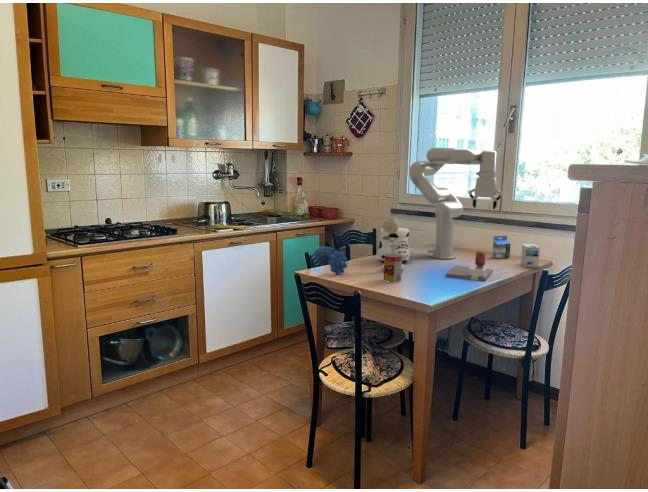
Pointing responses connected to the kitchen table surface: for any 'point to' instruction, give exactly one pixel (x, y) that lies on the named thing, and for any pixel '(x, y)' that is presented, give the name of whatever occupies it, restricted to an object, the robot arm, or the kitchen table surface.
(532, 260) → the light bulb box
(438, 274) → the kitchen table surface
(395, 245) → the flower in vase
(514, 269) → the kitchen table surface
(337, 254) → the grapes
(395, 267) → the canned food
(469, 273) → the block
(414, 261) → the kitchen table surface
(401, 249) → the milk container
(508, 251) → the label tape cartridge
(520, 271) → the kitchen table surface
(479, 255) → the reddish rounded cylinder
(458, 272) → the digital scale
